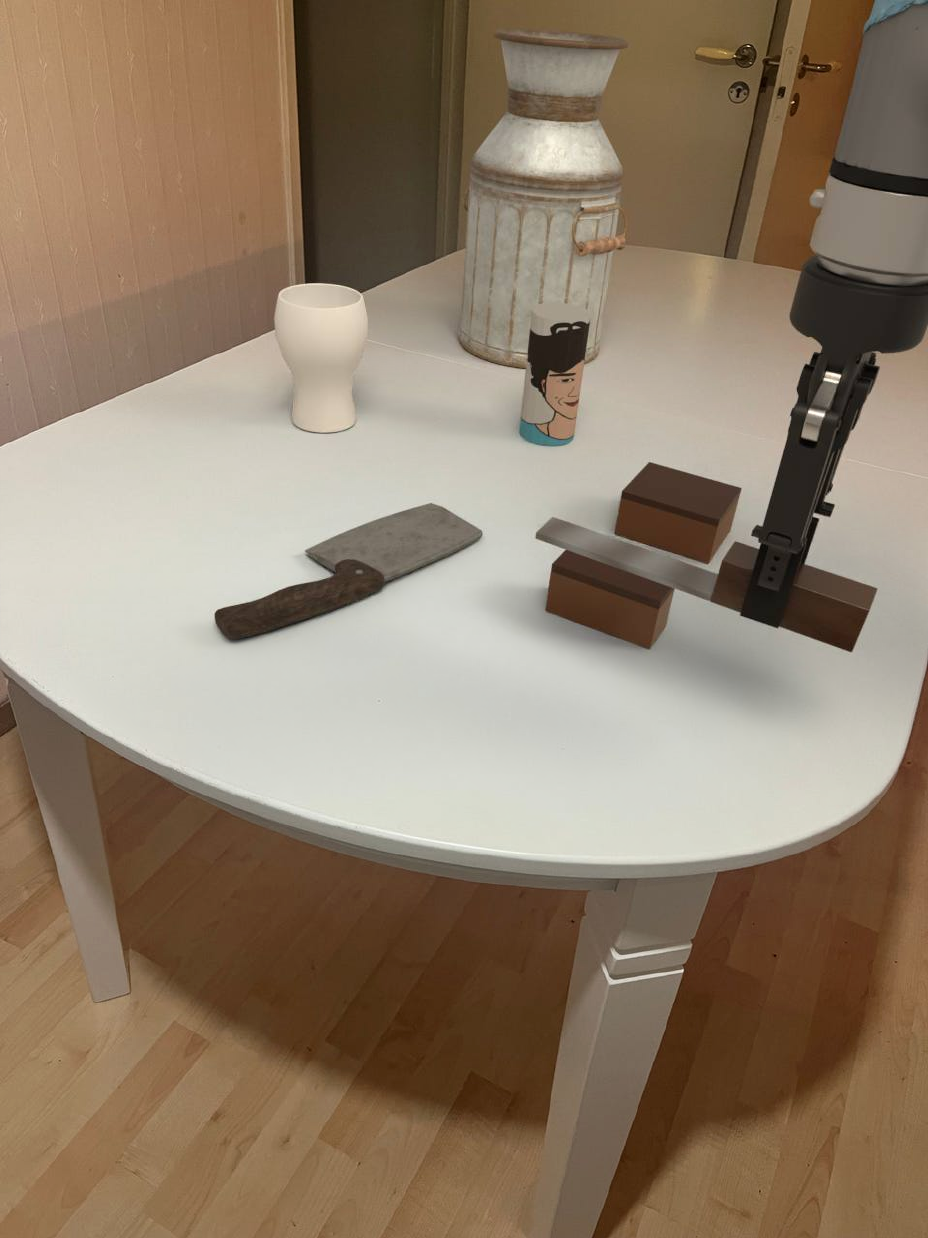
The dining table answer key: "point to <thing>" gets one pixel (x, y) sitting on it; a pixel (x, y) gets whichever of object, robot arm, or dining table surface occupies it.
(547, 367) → the cup
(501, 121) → the milk can
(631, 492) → the cake
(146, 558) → the dining table surface
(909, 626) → the dining table surface
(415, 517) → the cleaver
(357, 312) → the cup
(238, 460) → the dining table surface
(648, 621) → the cake slice
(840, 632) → the knife
